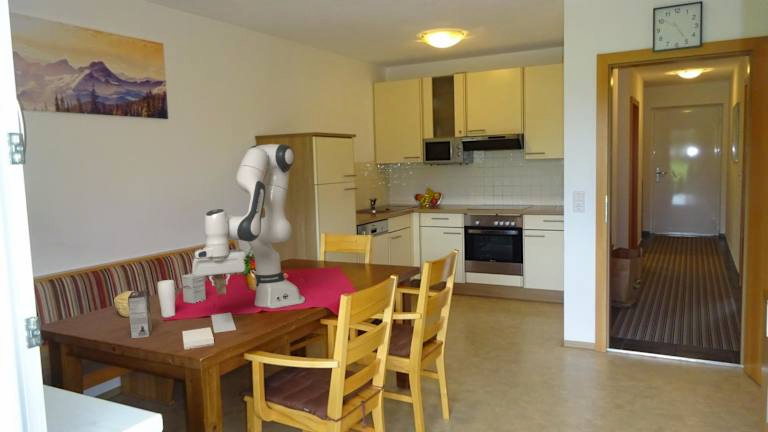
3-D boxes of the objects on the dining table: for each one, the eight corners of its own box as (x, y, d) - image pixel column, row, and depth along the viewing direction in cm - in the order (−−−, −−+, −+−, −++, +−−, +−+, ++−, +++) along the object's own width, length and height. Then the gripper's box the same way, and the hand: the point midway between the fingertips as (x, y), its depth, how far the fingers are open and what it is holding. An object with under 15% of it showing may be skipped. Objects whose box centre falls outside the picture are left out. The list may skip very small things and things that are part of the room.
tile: (210, 327, 212) (213, 337, 199) (210, 334, 213) (214, 346, 200) (182, 331, 209) (183, 342, 196) (183, 339, 209) (184, 350, 196)
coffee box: (134, 331, 219) (131, 291, 217) (152, 329, 221) (148, 289, 219) (131, 339, 210) (127, 297, 208) (149, 336, 212) (146, 295, 210)
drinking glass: (171, 318, 235) (168, 283, 233) (156, 318, 236) (153, 283, 235) (180, 314, 241) (177, 280, 240) (166, 313, 243) (163, 279, 241)
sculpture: (111, 317, 240) (108, 293, 239) (134, 310, 251) (132, 286, 250) (130, 320, 236) (127, 295, 234) (152, 312, 246) (150, 288, 245)
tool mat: (230, 313, 239) (230, 312, 239) (236, 331, 214) (236, 329, 214) (211, 316, 236) (211, 315, 236) (214, 334, 212) (214, 332, 212)
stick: (222, 283, 234) (221, 274, 234) (226, 293, 213) (225, 283, 213) (214, 284, 233) (214, 274, 233) (217, 294, 212) (217, 284, 212)
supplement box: (183, 302, 262) (181, 275, 261) (196, 298, 268) (194, 272, 267) (193, 304, 258) (191, 277, 257) (206, 300, 264) (204, 273, 263)
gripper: (243, 247, 228) (245, 280, 230) (190, 251, 221) (193, 286, 223) (245, 249, 222) (247, 283, 224) (190, 254, 216) (193, 289, 217)
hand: (219, 285), depth 223 cm, fingers closed on stick, 3 cm apart
